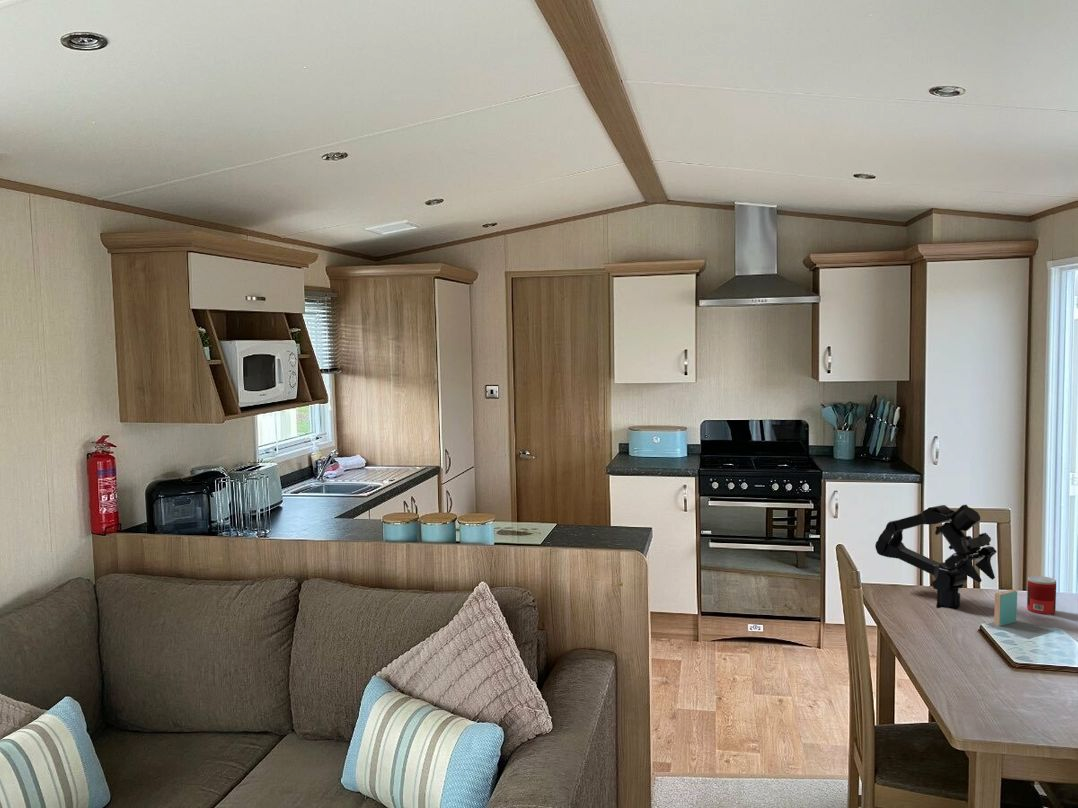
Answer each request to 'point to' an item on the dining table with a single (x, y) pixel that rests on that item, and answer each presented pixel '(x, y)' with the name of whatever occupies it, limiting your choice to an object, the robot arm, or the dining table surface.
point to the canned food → (1041, 595)
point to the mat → (1022, 629)
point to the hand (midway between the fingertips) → (987, 580)
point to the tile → (1005, 607)
